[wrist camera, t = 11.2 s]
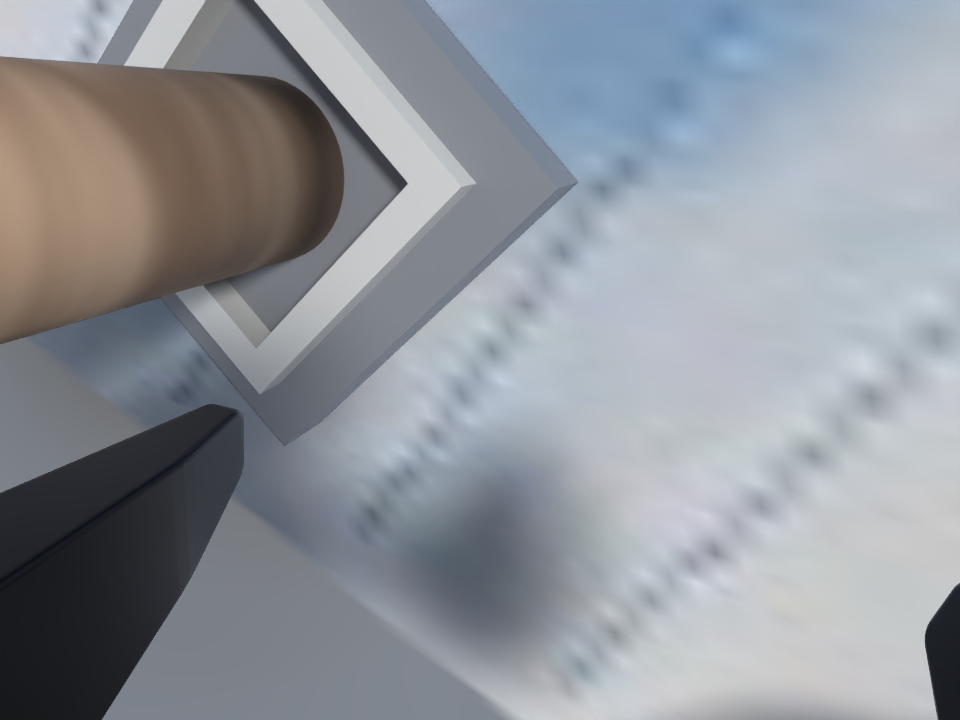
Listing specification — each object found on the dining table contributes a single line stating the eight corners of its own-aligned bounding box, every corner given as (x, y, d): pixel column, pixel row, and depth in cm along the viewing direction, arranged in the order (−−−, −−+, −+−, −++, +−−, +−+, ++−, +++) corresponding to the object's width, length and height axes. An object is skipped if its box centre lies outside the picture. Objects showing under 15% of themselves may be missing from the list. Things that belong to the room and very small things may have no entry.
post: (356, 98, 19) (-436, 68, 7) (332, 281, 21) (-318, 521, 9) (199, 58, 20) (-700, -28, 8) (190, 233, 22) (-548, 381, 10)
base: (578, 181, 20) (546, 192, 17) (319, 422, 25) (264, 458, 23) (289, -160, 20) (213, -203, 17) (95, 155, 25) (14, 159, 23)
